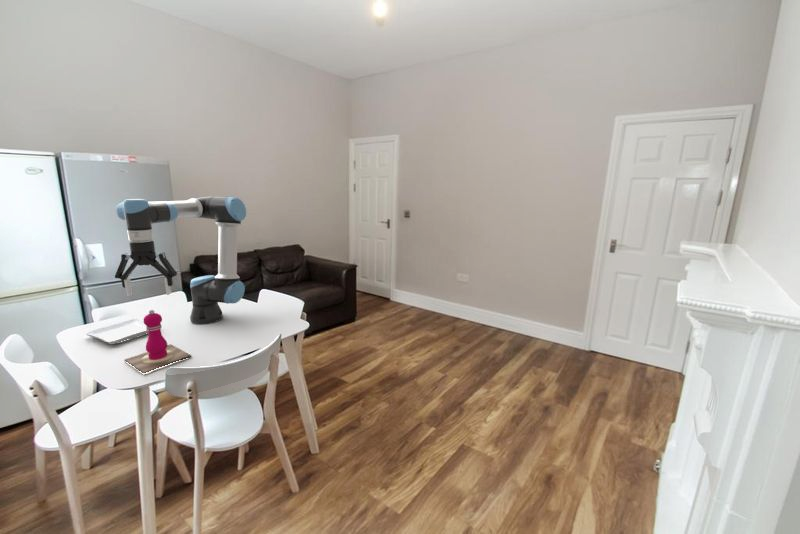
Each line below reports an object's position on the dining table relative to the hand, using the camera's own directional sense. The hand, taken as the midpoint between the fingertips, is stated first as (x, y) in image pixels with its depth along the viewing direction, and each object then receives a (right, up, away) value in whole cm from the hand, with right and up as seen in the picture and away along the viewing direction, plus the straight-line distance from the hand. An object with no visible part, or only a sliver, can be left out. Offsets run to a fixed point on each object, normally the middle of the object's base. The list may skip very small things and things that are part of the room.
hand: (149, 294), depth 135 cm
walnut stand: (-1, -27, +6) cm, 28 cm away
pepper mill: (-1, -26, +6) cm, 27 cm away
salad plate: (-32, -22, +28) cm, 48 cm away
